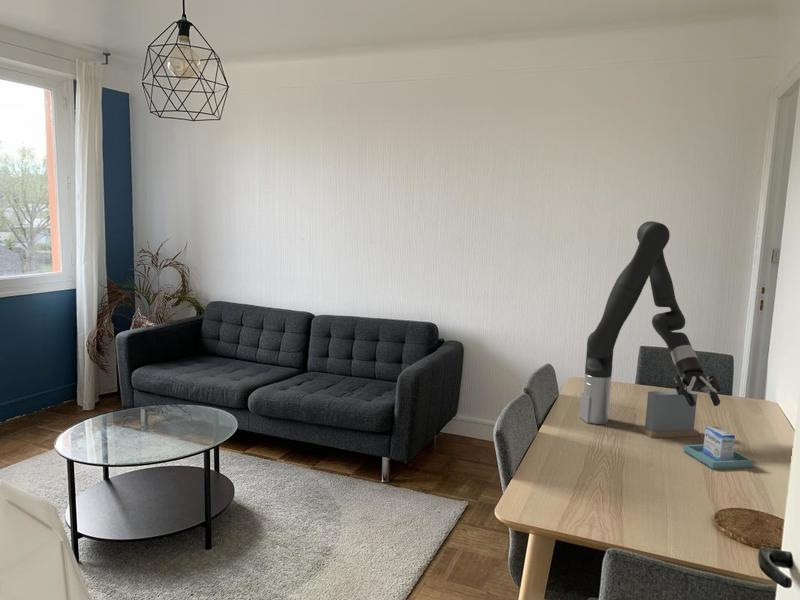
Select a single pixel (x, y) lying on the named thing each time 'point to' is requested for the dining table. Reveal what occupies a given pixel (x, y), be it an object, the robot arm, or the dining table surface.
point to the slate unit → (669, 415)
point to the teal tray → (713, 464)
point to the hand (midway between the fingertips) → (705, 405)
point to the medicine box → (718, 444)
